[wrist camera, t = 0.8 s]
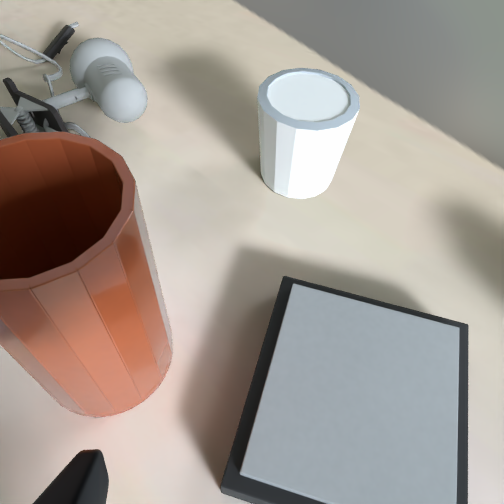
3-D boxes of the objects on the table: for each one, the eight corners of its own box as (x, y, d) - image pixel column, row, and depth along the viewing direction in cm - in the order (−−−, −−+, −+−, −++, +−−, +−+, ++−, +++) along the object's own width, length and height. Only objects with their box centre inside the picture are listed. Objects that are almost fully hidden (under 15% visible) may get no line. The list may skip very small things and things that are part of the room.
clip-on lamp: (0, 98, 44) (21, 185, 32) (-39, 30, 40) (-32, 102, 27) (113, 59, 47) (172, 125, 35) (88, -9, 42) (146, 41, 30)
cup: (140, 435, 23) (67, 319, 13) (17, 394, 24) (-146, 255, 14) (191, 316, 28) (166, 155, 17) (83, 285, 28) (-3, 115, 18)
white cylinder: (280, 216, 32) (290, 141, 27) (237, 158, 36) (239, 80, 30) (356, 187, 35) (381, 111, 29) (309, 134, 38) (324, 57, 32)
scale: (449, 570, 20) (473, 569, 18) (220, 492, 22) (219, 484, 20) (454, 339, 27) (472, 320, 25) (280, 292, 29) (284, 270, 27)
